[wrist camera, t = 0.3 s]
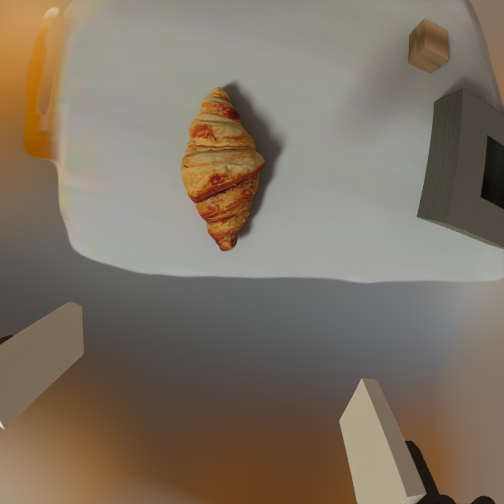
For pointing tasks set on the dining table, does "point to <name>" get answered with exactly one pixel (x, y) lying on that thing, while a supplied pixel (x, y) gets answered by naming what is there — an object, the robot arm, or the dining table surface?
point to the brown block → (428, 46)
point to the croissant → (221, 168)
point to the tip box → (466, 169)
